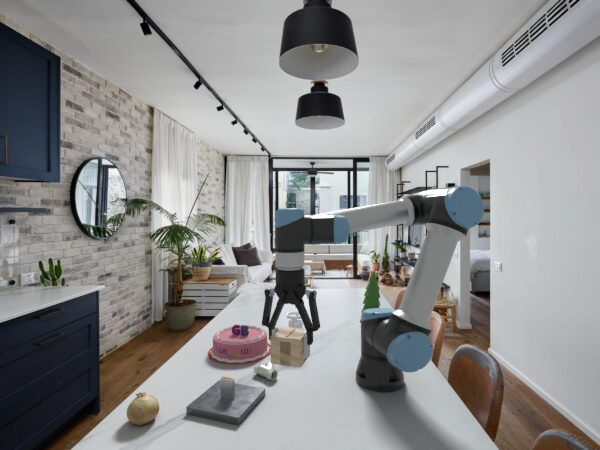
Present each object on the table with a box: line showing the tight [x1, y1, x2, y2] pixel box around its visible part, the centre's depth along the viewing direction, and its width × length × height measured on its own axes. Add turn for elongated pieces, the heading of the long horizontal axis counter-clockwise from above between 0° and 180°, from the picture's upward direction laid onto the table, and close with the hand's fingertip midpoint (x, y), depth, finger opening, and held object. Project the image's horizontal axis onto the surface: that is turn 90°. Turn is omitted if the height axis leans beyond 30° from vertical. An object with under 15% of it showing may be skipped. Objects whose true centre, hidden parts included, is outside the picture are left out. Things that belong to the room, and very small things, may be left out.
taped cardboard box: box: [270, 326, 311, 368], centre depth 93 cm, size 8×8×7 cm
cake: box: [207, 324, 271, 365], centre depth 140 cm, size 25×25×11 cm
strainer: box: [286, 310, 304, 329], centre depth 142 cm, size 7×7×15 cm
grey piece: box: [185, 375, 266, 426], centre depth 101 cm, size 16×16×8 cm
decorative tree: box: [359, 269, 381, 324], centre depth 150 cm, size 10×9×30 cm
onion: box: [126, 391, 160, 427], centre depth 93 cm, size 8×8×7 cm
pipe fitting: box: [253, 361, 279, 382], centre depth 119 cm, size 8×4×7 cm
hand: (290, 354), depth 93 cm, fingers closed on taped cardboard box, 8 cm apart
